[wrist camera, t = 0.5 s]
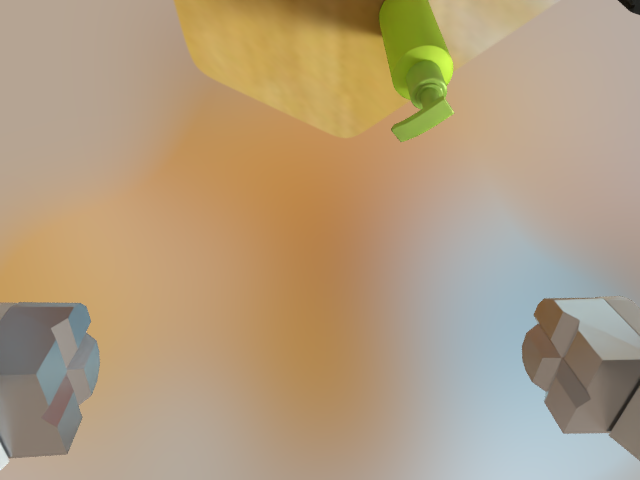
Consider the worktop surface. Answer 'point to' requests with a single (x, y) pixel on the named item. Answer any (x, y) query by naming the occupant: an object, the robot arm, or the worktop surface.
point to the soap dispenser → (416, 63)
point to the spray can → (632, 5)
